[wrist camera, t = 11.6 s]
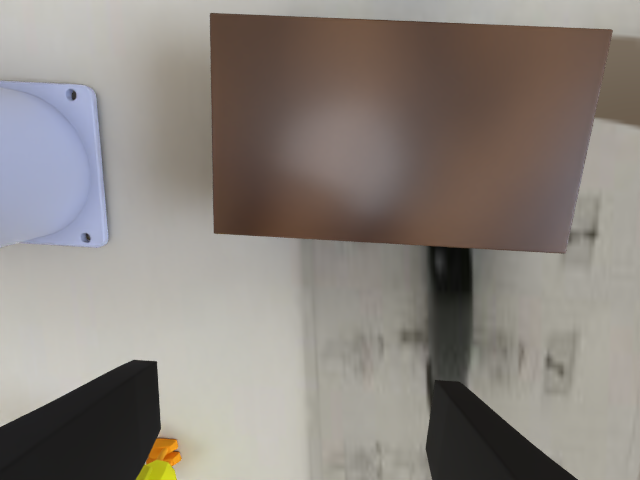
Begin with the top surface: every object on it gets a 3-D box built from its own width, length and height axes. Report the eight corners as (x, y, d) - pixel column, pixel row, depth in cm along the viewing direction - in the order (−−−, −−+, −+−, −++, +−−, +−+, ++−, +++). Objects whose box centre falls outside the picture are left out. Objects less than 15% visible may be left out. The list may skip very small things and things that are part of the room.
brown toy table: (240, 216, 19) (213, 233, 15) (240, 48, 17) (209, 12, 13) (512, 231, 18) (566, 254, 14) (542, 61, 17) (613, 28, 12)
